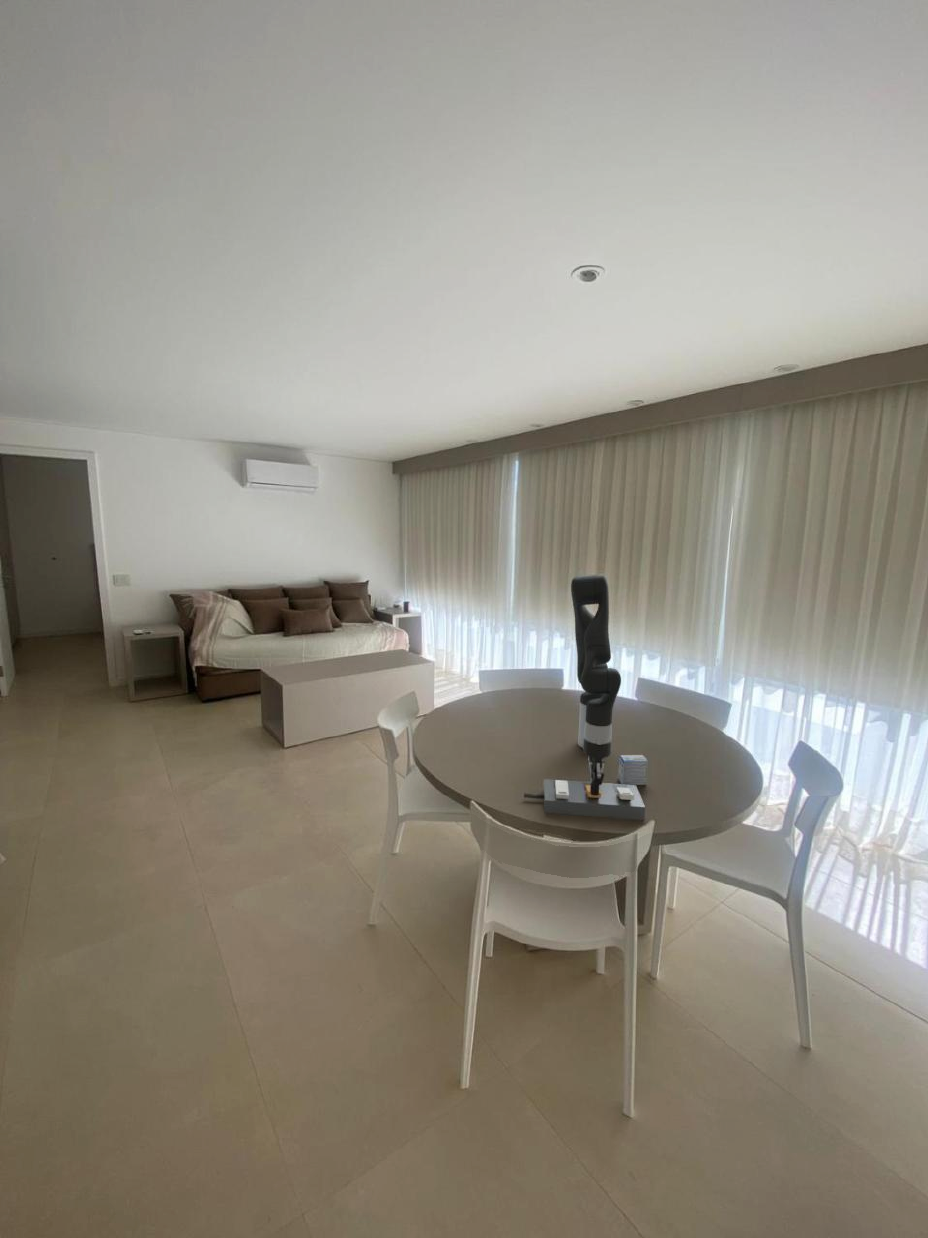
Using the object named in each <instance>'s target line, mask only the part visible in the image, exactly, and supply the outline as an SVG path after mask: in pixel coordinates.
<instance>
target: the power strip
mask: <svg viewBox="0 0 928 1238" xmlns="http://www.w3.org/2000/svg"><path fill="white" fill-rule="evenodd" d="M555 780H556V779H546V778H544V779H543V781H542V782H543V785H542V787H543V789H542V794H538V793H526V792H525V793H523V797H524V798H527V799H537V800H538V799H541V800H543V807H544V810H543V811H544V813H545V814H556V815H557V814H558V815H571V816H585V817H599V818H612V819H624V820H641V821H644V820H645V814H646V806H645V804H644V801H643V799H642V796H641V794H640V791H639V789H638V787H637V785H626V784H621V783H609V782H607V783H606V782H602V784H601V785H599V789H600V792H601V798H595V797H588V795H587V793H586V785H591V781H578V780H577V781H576V780H567V781H568V790H569V799H562V798H556V789H555ZM563 781H565V780H563ZM617 787H619V788H629V789H630V790H631V792H632V793H633V795H634V800H627V799H620V797H619V796H618V794H617V792H616V791H617Z"/></svg>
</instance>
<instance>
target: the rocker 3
mask: <svg viewBox="0 0 928 1238" xmlns="http://www.w3.org/2000/svg"><path fill="white" fill-rule="evenodd" d="M616 792H617V794H618V796H619V797H620V799H627V800H634V795H633V793H632V792H631V790H630V789H629V788H619V787H617V791H616Z"/></svg>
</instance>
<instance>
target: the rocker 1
mask: <svg viewBox="0 0 928 1238" xmlns="http://www.w3.org/2000/svg"><path fill="white" fill-rule="evenodd" d="M554 780H555V789H556V798H562V799H569V790H568V781H569V780H564V781H563V780H562V779H554Z"/></svg>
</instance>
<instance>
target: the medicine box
mask: <svg viewBox="0 0 928 1238" xmlns="http://www.w3.org/2000/svg"><path fill="white" fill-rule="evenodd" d="M618 762H619V763H618V774H617V775H618V776H617V778H618V781H619V782H620V784H626V785H636V786H647V779H648V771H649V770H648V767H649V761H648V760H647V758H646V757H645V756H644V755H643V754H622V755H621V754H620V755H619V760H618Z"/></svg>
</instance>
